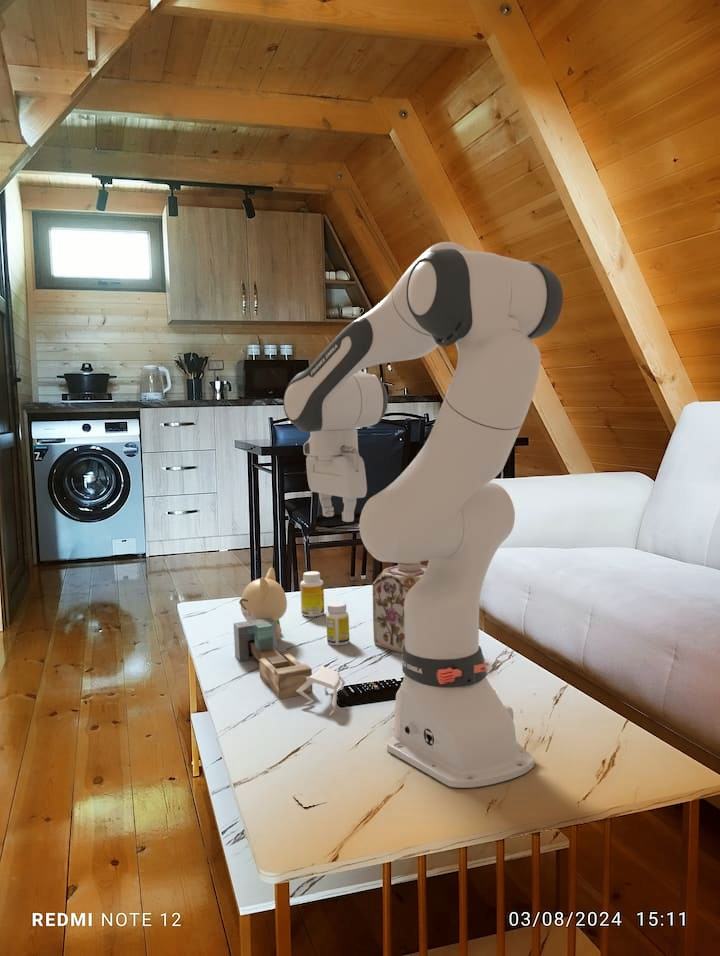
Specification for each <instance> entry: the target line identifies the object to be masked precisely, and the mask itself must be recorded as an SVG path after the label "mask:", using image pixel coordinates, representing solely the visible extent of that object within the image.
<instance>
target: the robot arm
mask: <svg viewBox="0 0 720 956" xmlns="http://www.w3.org/2000/svg"><path fill="white" fill-rule="evenodd" d="M561 283H562V282H561V281H560V279H559V277H558V276H557V275H556V273H555V272H553V270H551V269H549V268H547V267H546V266H544V265H541V264H539V263H537V262H534V261H522V260H519V259H516V258H513V257H508V256H505V255H504V256H503V255H502V256H501V255H499V254H497V253H494V252H488V251H487V252H486V251H474V250H469V249H467V248H466V247H465V246H463V245H461V244H459V243H455V242H452V241H442V242H438V243H436V244H433V245H431V246H430V247H429V248H427V249H426V250H425V251H424V252H423V253H421V255H420V256H419V257H418V258H416V259H415V261H413V262H412V264H410V266H409V267H408V268H407V269H406V271H404V273H403V274H402V275H401V277H400V278H399V280H398V281H397V283H396V284H395V285H394V287H393V288H392V290H391V291H390V292H389V293H388V294H387V295H386V296H385V297H384V298H383V299H382V300H380V302H378V303H377V304H376V305H375V306H374V307H373V308H372V309H370V310H369V311H367V312H366V313H365V314H363V315H362V316H360V317H358V318H357V319H355V320H354V321H352V322H350V323H349V324H348V325H347V326H346V327H344V328H343V329H342V330H341V331H340V332H339V333H338V334H337V335H336V337H335V338H334V339H333V340H332V341H331V342H330V343H329V345H327V346H326V347H325V349H324V350H323V351H322V352H321V353H320V354H319V355H318V357H317V358H316V359H315V360H314V361H313V362H312V363H311V364H310V365H309V367H307V368H306V369H305V370H303V371H301V372H299V373H296V375H295V376H294V377H293V378H292V379H291V380H290V382H289V383H288V385H287V386H286V388H285V391H284V394H283V395H284V396H283V410H284V413H285V416H286V418H287V419H288V421H290V422H291V423H292V424H293V426H294V427H296V428H297V429H298V430H299V431H301V432H303V433H310V434H309V435H310V437H309V438H308V440H307V441H306V442H305V443H304V444H303V445H302V447H303V449H302V450H303V454H304V455H305V456H306V458H305V461H306V463H305V465H306V477H307V483H308V487H309V490H310V491H311V492H312V493H317V494H318V499H319V503H320V505H321V509H322V516H323V517H326V518H329V517H330V518H331V517H333V516H335V512H334V511H335V509H334V506H333V503H332V499H331V498H332V497H333V496H334V497H339V498H342V503H343V511H341V520H342V521H343V522H346V523H349V522H354V520H355V509H356V506H357V499H362V498H365V497H366V495H367V492H368V485H367V484H368V483H367V476H366V467H365V461H364V459H363V457H362V456H360V453H359V441H358V440H359V439H358V438H359V436H358V428H366V427H367V428H368V427H372V426H374V425H377V424H379V423H380V422H381V421H382V420H383V418H384V417H385V415H386V412H387V409H388V404H389V403H388V401H389V398H388V392H387V388H386V386H385V384H384V382H383V381H382V380H381V379H380V378H379V377H378V376H377V375H376V374H371V373H368V372H364V371H362V370H363V369H365V368H366V369H367V368H370V367H373V366H377V365H382V364H383V365H384V364H387V363H388V364H389V363H396V362H404V361H410V360H416V359H420V358H423V357H426V356H427V355H429V354H430V353H431V352H433V351H434V350H436V349H438V347H442V348H443V347H444V348H445V347H450V346H451V345H454V344H455V347H456V350H457V363H456V368H455V370H454V374H453V375H452V377H451V381H450V383H449V385H448V387H447V391H446V392H445V395H444V398H443V401H442V403H441V406H440V409H439V411H438V413H437V417H436V418H435V421H434V424H433V426H432V428H431V431H430V433H429V435H428V437H427V439H426V441H425V443H424V445H423V446H422V448H421V449H420V450H419V452H418V453H417V455H416V456H415V457H414V458H413V460H412V461H411V462H410V463H409V465H407V467H406V468H405V469H404V470H403V471H402V472H401V473H400V475H399V476H398V477H397V478H396V479H394V481H392V482H391V483H390V484H389V485H388V486H386V487H385V488H384V489H382V490H381V491H379V492H378V493H376V494H374V495H373V496H371V497H370V498H369V499H368V500H367V501H366V502H365V504H364V506H363V508H362V509H361V514H360V516H359V523H358V524H359V525H358V526H359V534H360V535H359V536H360V538H361V541H362V543H363V544H362V545H364V547H365V550H366V551H367V552H368V553H369V554H370V555H371V556H372V557H373V558H374V559H375V560H377V561H379V562H382V563H392V564H393V563H394V564H398V563H415V562H425V561H427V562H428V563H427V565H426V566H427V568H426V570H425V572H424V574H423V575H422V577H421V578H420V579H419V580H418V582H417V583H416V584H414V585H413V586H412V587H411V589H410V590H409V591H408V593H407V595H406V597H405V601H404V627H405V645H404V647H403V649H402V653H401V664H402V665H401V667H402V668H401V669H402V670H401V671H402V673H403V674H404V676H403V679H402V682H401V683H400V686H399V688H398V690H397V692H396V694H395V704H394V705H395V706H394V725H393V736H392V737H391V738H390V739H388V741H387V742H386V751H388V752H389V753H391V754H392V755H394V756H396V757H397V758H399V759H401V760H403V761H404V762H406V763H407V764H409V765H411V766H413V767H415V768H417V769H418V770H419V771H422V772H423V773H425V774H427V775H429V776H430V777H432V778H434V779H435V780H437V781H439V782H441V783H442V784H444V785H446V786H448V787H450V788H459V789H460V788H466V789H468V788H478V787H485V786H490V785H494V784H499V783H502V782H505V781H509V780H512V779H515V778H517V777H520V776H523V775H524V774H526V773H528V772H529V771H530V770H532V768H534V767H535V759H534V757H533V756H532V755H531V753H529V752H528V751H527V750H526V749H525V748H524V747H523V745H521V744H520V743H519V741H517V734H516V728H515V723H514V710H513V708H512V706H511V705H509V704H507V705H504V704H503V702H502V700H501V699H500V696H499V695H498V694H497V692H496V689H494V688H493V686H492V685H491V683H490V681H489V680H488V677H487V675H488V672H489V670H490V669H489V668H486V667H487V666H489V665H490V664H489V663H488V662H486V660H485V656H484V655H483V650H482V647H481V646H480V643H479V641H480V640H479V639H480V633H479V632H480V631H479V630H480V627H479V626H480V603H481V602H480V601H481V595H482V589H483V585H484V581H485V578H486V576H487V572H488V570H489V567H490V564H491V562H492V561H493V557H494V556H495V555H496V552H497V550H498V549H499V548H500V546H501V545H502V544H503V543H504V542H505V540H507V539H508V537H510V535H511V533H512V531H513V528H514V524H515V521H516V520H515V516H516V515H515V514H516V513H515V507H514V502H513V500H512V498H511V496H510V494H509V493H508V492H507V490H506V489H505V488H504V487H502V486H501V485H500V484H497V483H494V482H491V481H493V480H494V479H495V478H496V477H497V476H498V475H499V474H500V473H501V472H502V470H503V469H504V467H505V465H506V463H507V461H508V458H509V457H510V454H511V452H512V449H513V447H514V445H515V443H516V439H518V435H519V433H520V431H521V429H522V427H523V424H524V421H525V419H526V417H527V415H528V411H529V409H530V406H531V404H532V401H533V399H534V394H535V391H536V387H537V384H538V379H539V375H540V371H541V370H540V369H541V364H542V356H541V352H540V350H539V347H538V346H537V344H536V343H535V341H533V340H534V339H537V338H540V337H543V336H545V335H547V334H548V333H549V332H550V331H551V330H552V329H553V328H554V326H555V325H556V323H557V322H558V319H559V317H560V315H561V312H562V309H563V307H562V306H563V304H564V303H563V298H564V294H563V293H564V292H563V288H562V284H561Z"/></svg>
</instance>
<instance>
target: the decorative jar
mask: <svg viewBox="0 0 720 956" xmlns="http://www.w3.org/2000/svg"><path fill="white" fill-rule="evenodd" d="M421 562H422V561H421ZM421 562H415V563H397V565H394V566H390V567H387V568H384V569H383V570H381V571H382V572H380V574H379V575H377V576H376V579H375V580H374V581H373V583H372V624H373V628H372V630H373V641H374V643H373V644H374V645H375V646H378V647H381V648H385V649H388V650H389V651H394V652H397V653H400V654H402V649H403V647H404V645H405V627H404V601H405V597H406V595H407V593H408V591H409V590H410V589H411V587H412V586H413V585H414V584H416V583H417V582H418V580H419V579H420V578H421V577H422V575H423V574H424V572H425V570H426V568H427V565H423V564H422V563H421Z"/></svg>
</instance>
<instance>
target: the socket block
mask: <svg viewBox="0 0 720 956" xmlns="http://www.w3.org/2000/svg"><path fill="white" fill-rule="evenodd" d="M263 622H268V623H270V624H271V625H272V630H273V648H274V649H275V650H276V651H277V652H278V640H277V622H276V621H275V620H274V619H272V618H265V619H258V620H252V621H247V620H245V621H239V622H233V639H234V643H233V644H234V657H235V659H237V660H238V662H245V661H252V660H257V659H256V658H255V657H254V656H253V655H252V654H251V653H250V652H249V648H248V641H250V640H255V633H254V624H257V623H263ZM278 653H279V652H278Z"/></svg>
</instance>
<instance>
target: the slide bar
mask: <svg viewBox="0 0 720 956" xmlns="http://www.w3.org/2000/svg"><path fill="white" fill-rule="evenodd" d="M254 633H255V640H250V641H248V648H249V652H250V653H251V654H252V655H253V656H254V657H255V658H256V659H255V660H257V661H258V662H259V659H261V658H266V659H267V660H268V661H269V662H270V663H271V664H272V665H273V666H274V667H275V668H276V669H279V668H284V667H288V661H287V660H286V659H285V658H284V655H282V654H280V652H277V651H276V650H275V649H274V648H273V630H272V625H271V624H270V623H268V622H263V623H257V624H254Z"/></svg>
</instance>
